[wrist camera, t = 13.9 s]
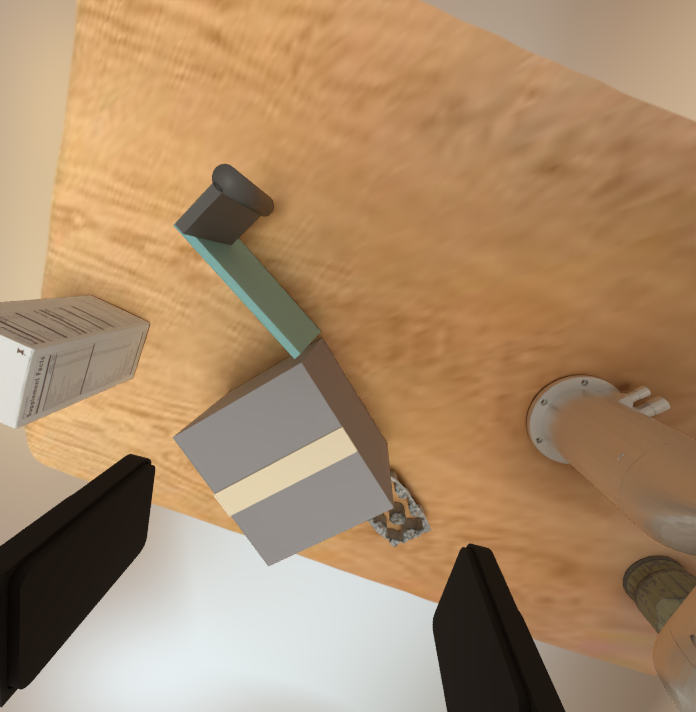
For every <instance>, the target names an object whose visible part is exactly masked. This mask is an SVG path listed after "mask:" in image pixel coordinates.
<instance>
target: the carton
mask: <svg viewBox="0 0 696 712" xmlns="http://www.w3.org/2000/svg"><path fill="white" fill-rule="evenodd" d="M173 438H174V440H175V441H176V443H177V444H178V445H179V447H180V448H181V449H182V451H183V452H184V453H185V455H186V456H187V457H188V459H189V460H190V461H191V463H192V464H193V465H194V467H195V468H196V469H197V471H198V472H199V474H200V475H201V476H202V478H203V479H204V480H205V482H206V483H207V484H208V486H209V487H210V488H211V490H212V491H213V492H214V497H215V498H216V499H217V501H218V502H219V503H220V505H221V506H222V507H223V509H224V510H225V512H226V513H227V514H228V516H229V517H230V516H231V517H232V518H233V519H234V521H235V522H236V523H237V525H238V526H239V527H240V529H241V530H242V531H243V533H244V534H245V535H246V537H247V538H248V539H249V541H250V542H251V543H252V545H253V546H254V548H255V549H256V550H257V551H258V553H259V554H260V556H261V557H262V558H263V560H264V561H265V562H266V564H267V565H268V566H270V565H272V564H274V563H277V562H279V561H281V560H283V559H285V558H287V557H290V556H292V555H294V554H296V553H298V552H300V551H303V550H305V549H307V548H309V547H311V546H313V545H315V544H318V543H320V542H322V541H324V540H326V539H328V538H331V537H333V536H335V535H337V534H339V533H341V532H343V531H346V530H348V529H350V528H352V527H354V526H356V525H359V524H361V523H363V522H365V521H367V520H369V519H371V518H374V517H376V516H378V515H380V514H382V513H384V512H386V511H389V510H391V509H393V508H394V504H393V495H392V485H391V475H390V465H389V455H388V446H387V442H386V441H385V439H384V437H383V436H382V434H381V432H380V431H379V429H378V427H377V426H376V424H375V423H374V421H373V419H372V418H371V416H370V414H369V413H368V411H367V410H366V408H365V406H364V405H363V403H362V401H361V400H360V398H359V397H358V395H357V393H356V392H355V390H354V388H353V387H352V385H351V384H350V382H349V380H348V379H347V377H346V375H345V374H344V372H343V371H342V369H341V367H340V366H339V364H338V362H337V361H336V359H335V358H334V356H333V354H332V353H331V351H330V349H329V348H328V346H327V345H326V343H325V341H324V340H323V338H320V339H318V340H317V341H315V342H313V343H312V344H310V345H308V346H307V347H306V349H305V350H304V351H303V352H302V353H301V354H300V355H299V356H298V357H296V358H295V359H294V358H293V357H292V356H290V357H288V358H286V359H284V360H283V361H281V362H279V363H278V364H276V365H274V366H273V367H271V368H269V369H267V370H266V371H264V372H262V373H261V374H259V375H257V376H256V377H254V378H252V379H250V380H249V381H247V382H245V383H244V384H242V385H240V386H239V387H237V388H235V389H233V390H232V391H230V392H228V393H227V394H226V395H225V396H223V397H222V398H221V399H220V400H219V401H217V402H216V403H215V404H214V405H212V406H211V407H210V408H209V409H207V410H206V411H205V412H204V413H202V414H201V415H200V416H199V417H197V418H196V419H195V420H194V421H192V422H191V423H190V424H189V425H188V426H186V427H185V428H184V429H183V430H181V431H180V432H179V433H178V434H176V435H175V436H174V437H173Z"/></svg>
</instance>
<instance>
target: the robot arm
mask: <svg viewBox="0 0 696 712" xmlns="http://www.w3.org/2000/svg"><path fill="white" fill-rule="evenodd" d="M650 395H651V392H650V390H649V389H648V388H647V387H645V386H640V387H638V388H636V389H634V390H632V391H631V392H629V393H627V394H625V393H620V391H619V390H618V389H617V388H615V387H614V386H613V385H612V384H610V383H608V382H606V381H604V380H602V379H600V378H597V377H593V376H589V375H575V376H568V377H565V378H562V379H559V380H557V381H555V382H553V383H551V384H550V385H548V386H547V387H545V388H544V389H543V390H542V391H541V392H540V393H539V394H538V395H537V396H536V398H535V399H534V401H533V402H532V404H531V406H530V409H529V411H528V416H527V431H528V435H529V437H530V439H531V442H532V443H533V444H534V446H535V447H536V448H537V449H538V450H539V451H540V452H541V453H542V454H543V455H545V456H546V457H548V458H549V459H551V460H554V461H556V462H560V463H564V464H571V465H572V466H573V467H574V468H575V469H576V470H577V471H578V472H579V473H580V474H582V475H583V476H584V477H585V478H586V479H587V480H588V481H589V482H590V483H591V484H592V485H593V486H594V487H595V488H597V489H598V490H599V491H600V492H601V493H602V494H603V495H604V496H605V497H606V498H607V499H608V500H609V501H611V502H612V503H613V504H614V505H615V506H616V507H617V508H618V509H619V510H620V511H621V512H622V513H623V514H625V515H626V516H627V517H628V518H629V519H630V520H631V521H632V522H633V523H634V524H635V525H636V526H637V527H639V528H640V529H641V530H642V531H643V532H644V533H646V534H647V535H648V536H650V537H651V538H653V539H654V540H656V541H657V542H659V543H661V544H663V545H665V546H667V547H669V548H672V549H674V550H677V551H680V552H684V553H687V554H691V555H695V556H696V440H695V439H693V438H691V437H689V436H687V435H685V434H683V433H681V432H679V431H677V430H675V429H673V428H671V427H669V426H667V425H665V424H663V423H661V422H659V421H657V420H655V419H653V418H651V416H656V415H658V414H660V413H663V412H665V411H667V410H669V409H670V408H671V407H670V404H669V403H668V402H667V400H665V399H664V398H663V397H661V396H656V397H654V398H652V399H650V400H647V401H645V402H643V404H641V405H638V406H636V407H635V406H632V405H633V402H635V401H638V400H641V399H643V398H645V397H648V396H650ZM154 476H155V466H154V465H151V460H150V459H148V458H145V457H141V456H137V455H133V454H129V455H127V456H125V457H124V458H122V459H121V460H120V461H118V462H117V463H116V464H114V465H113V466H111V467H110V468H109V469H107V470H106V471H105V472H103V473H102V474H100V475H99V476H98V477H96V478H95V479H94V480H92V481H91V482H89V483H88V484H87V485H85V486H84V487H83V488H81V489H80V490H78V491H77V492H76V493H74V494H73V495H71V496H69V497H68V498H66V499H65V500H64V501H62V502H61V503H59V504H58V505H57V506H55V507H54V508H52V509H51V510H50V511H48V512H47V513H45V514H44V515H43V516H41V517H40V518H39V519H37V520H36V521H34V522H33V523H32V524H30V525H29V526H28V527H26V528H25V529H23V530H22V531H21V532H19V533H18V534H16V535H15V536H14V537H12V538H11V539H10V540H8V541H7V542H5V543H4V544H3V545H1V546H0V707H2V706H3V705H4V704H5V703H6V702H7V701H8V699H9V698H10V697H11V696H12V695H13V694H14V692H15V691H16V690H17V689H24V688H25V687H27V686H28V685H29V684H30V683H31V682H32V681H33V680H34V679H35V677H36V676H37V675H38V674H39V673H40V671H41V670H42V669H43V668H44V667H45V665H46V664H47V663H48V662H49V661H50V660H51V658H52V657H53V656H54V655H55V654H56V652H57V651H58V650H59V649H60V648H61V646H62V645H63V644H64V643H65V642H66V640H67V639H68V638H69V637H70V636H71V634H72V633H73V632H74V631H75V630H76V628H77V627H78V626H79V625H80V624H81V623H82V621H83V620H84V619H85V618H86V617H87V615H88V614H89V613H90V612H91V610H92V609H93V608H94V607H95V606H96V605H97V603H98V602H99V601H100V600H101V599H102V597H103V596H104V595H105V594H106V593H107V592H108V590H109V589H110V588H111V587H112V585H113V584H114V583H115V582H116V581H117V580H118V578H119V577H120V576H121V575H122V574H123V572H124V571H125V570H126V569H127V567H128V566H129V565H130V564H131V563H132V562H133V561H134V559H135V558H136V557H137V556H138V554H139V553H140V552H141V550H142V549H143V547H144V545H145V542H146V539H147V532H148V524H149V516H150V508H151V500H152V492H153V484H154ZM433 634H434V639H435V645H436V651H437V656H438V661H439V667H440V673H441V679H442V684H443V689H444V696H445V701H446V707H447V712H565V710H564V708H563V705H562V703H561V701H560V699H559V696H558V694H557V692H556V690H555V688H554V685H553V683H552V681H551V679H550V676H549V674H548V672H547V670H546V668H545V665H544V663H543V661H542V659H541V657H540V654H539V652H538V650H537V648H536V645H535V643H534V641H533V639H532V636H531V634H530V632H529V630H528V627H527V625H526V623H525V621H524V619H523V617H522V615H521V613H520V612H519V611H518V608H517V606H516V604H515V602H514V599H513V597H512V595H511V593H510V591H509V588H508V586H507V584H506V582H505V579H504V577H503V575H502V573H501V570H500V568H499V566H498V564H497V561H496V559H495V557H494V555H493V552H492V551H491V550H490V549H489V548H486V547H482V546H478V545H475V544H468V545H467V547H466V548H465V547H462V548H461V550H460V552H459V554H458V557H457V559H456V562H455V564H454V567H453V569H452V572H451V574H450V577H449V579H448V582H447V584H446V586H445V589H444V591H443V594H442V596H441V599H440V601H439V604H438V606H437V609H436V611H435V614H434V617H433ZM653 661H654V666H655V669H656V672H657V675H658V677H659V679H660V681H661V683H662V685H663V687H664V688H665V690H666V692H667V694H668V695H669V696H670V698H671V700H672V701H673V702H674V704H675V705H676V707H677V708H678V709H679V710H680V712H696V586H695V588H694V589H693V590H692V591H691V593H690V594H689V595H688V596H687V598H686V599H685V600H684V601H683V603H682V604H681V605H680V606H679V608H678V609H677V610H676V611H675V613H674V614H673V615H672V616H671V618H670V619H669V620H668V621H667V623H666V624H665V625H664V627H663V628H662V630H661V631H660V633H659V634H658V636H657V638H656V640H655V643H654V647H653Z"/></svg>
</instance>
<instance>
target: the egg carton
mask: <svg viewBox="0 0 696 712" xmlns="http://www.w3.org/2000/svg"><path fill="white" fill-rule="evenodd" d="M390 475H391V481H394V485H395V492H396V494H397V495H398V496H399V498H404V499H405V498H406V497H407V499H408V505H409V510H410V513H411V514H412V515H413V516H415V517H416V516H418V517H419V519H417V520H416V519H411V518H407V519H406V516H405V510H404V506H403V505H402V504H401V503H398V502H394V503H393V504H394V508H393V509H391V510H389V515H390V519H389V520H390V521H391V522H392V523H393V524H395V525H400V524H402V529H401V530H399V531H397V530H395V529H387V523H386V517H385V516H384V515H383V514H380V515H378V516H376V517H374V518H371V519H369V520H367V521H368V522H369V523H370V524H371V525H372V526H373V528H374V529H375V530H376V532H377V533H379V534H380V535H381V536H383V537H384V538H385V539H387V540H389V542H390V544H391V545H392V546H394V547H396V546H397V544H398V543H401V542H403V543H406V542H407V541H408V540H411V539H413V538H415V537H419V536H420V535H421V533H426V532H429V531H431V528H430V526H429V523H428V521H427V519H426V517H425V514H424V510H423V507H422V506H421V505H420V504H416V503H415V501H414V500H413V499H412V497H411V493H410V491H409V489H408V488H407V487H406V488H404V487H403V486H402V485H401V483H400V482H398V478H397V474H396V473H395V472H394V471H390ZM420 517H421V518H420Z"/></svg>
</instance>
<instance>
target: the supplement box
mask: <svg viewBox="0 0 696 712" xmlns="http://www.w3.org/2000/svg"><path fill="white" fill-rule="evenodd" d="M149 325H150V323H149V322H147V321H145V320H143V319H141V318H139V317H136V316H134V315H132V314H130V313H128V312H126V311H124V310H121V309H119V308H117V307H115V306H113V305H111V304H109V303H107V302H105V301H102V300H100V299H98V298H96V297H94V296H92V295H87V296H74V297H62V298H49V299H37V300H24V301H10V302H0V423H3V424H5V425H7V426H9V427H12V428H14V429H17V428H19V427H22V426H24V425H26V424H29V423H31V422H33V421H35V420H38V419H40V418H42V417H45V416H47V415H49V414H51V413H54V412H56V411H58V410H61V409H63V408H65V407H68V406H70V405H72V404H74V403H77V402H79V401H81V400H83V399H86V398H88V397H91V396H93V395H95V394H98V393H100V392H102V391H105V390H107V389H109V388H111V387H114V386H116V385H118V384H121V383H123V382H125V381H128V380H130V379H132V378H133V376H134V373H135V370H136V367H137V364H138V360H139V357H140V354H141V351H142V348H143V344H144V341H145V338H146V335H147V331H148V328H149Z"/></svg>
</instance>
